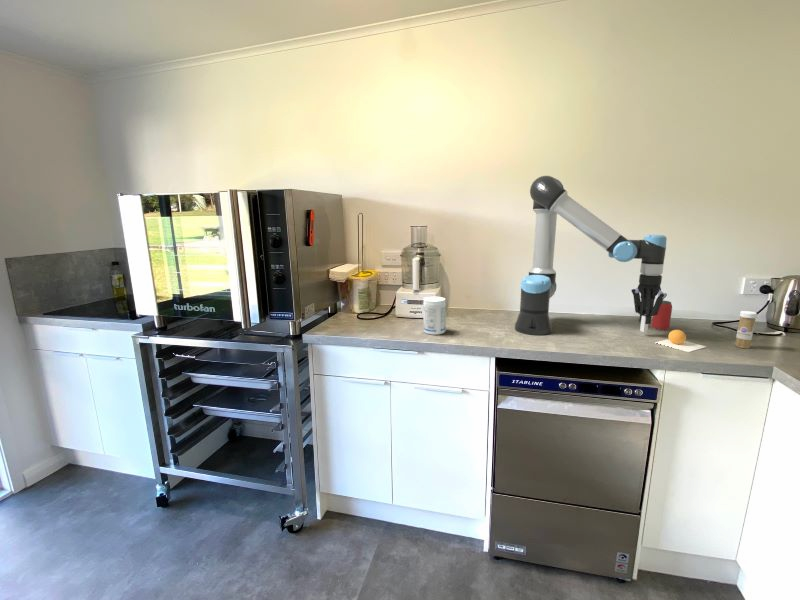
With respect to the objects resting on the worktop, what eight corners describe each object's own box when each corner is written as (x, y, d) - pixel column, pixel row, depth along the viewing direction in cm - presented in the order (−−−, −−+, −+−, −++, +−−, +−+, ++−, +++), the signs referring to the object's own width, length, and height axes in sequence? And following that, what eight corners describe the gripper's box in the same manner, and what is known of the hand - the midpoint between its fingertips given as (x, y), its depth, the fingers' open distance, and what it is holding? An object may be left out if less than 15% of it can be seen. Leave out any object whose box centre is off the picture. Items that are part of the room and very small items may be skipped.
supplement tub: (439, 328, 172) (440, 295, 169) (449, 333, 163) (450, 299, 160) (419, 330, 169) (419, 297, 166) (428, 336, 160) (428, 301, 157)
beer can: (672, 330, 165) (675, 303, 163) (655, 330, 167) (658, 302, 164) (665, 326, 172) (668, 300, 169) (648, 325, 173) (652, 299, 170)
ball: (672, 348, 147) (662, 336, 150) (681, 345, 149) (670, 334, 152) (684, 339, 143) (672, 327, 146) (692, 337, 145) (681, 325, 148)
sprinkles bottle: (734, 347, 144) (740, 312, 141) (734, 344, 147) (740, 309, 145) (750, 349, 141) (757, 314, 138) (750, 346, 144) (756, 311, 142)
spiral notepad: (654, 343, 149) (654, 342, 149) (672, 338, 155) (672, 338, 155) (688, 352, 139) (688, 351, 139) (706, 347, 144) (706, 346, 144)
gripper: (673, 275, 150) (665, 333, 155) (640, 271, 161) (633, 326, 166) (662, 276, 146) (654, 336, 151) (629, 272, 158) (622, 328, 163)
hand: (643, 331), depth 159 cm, fingers closed
